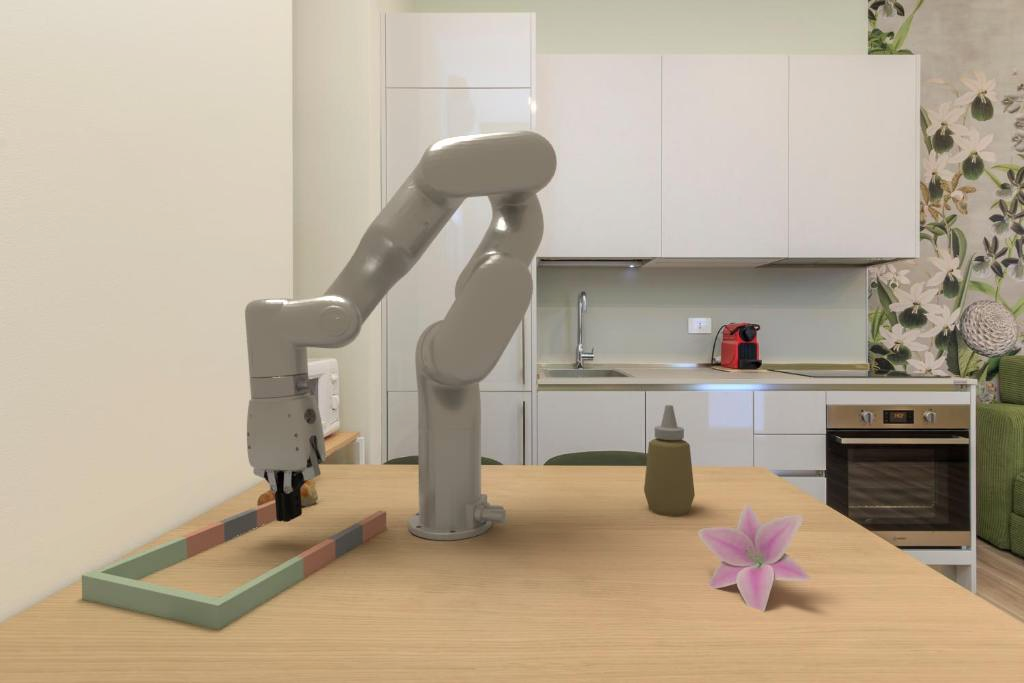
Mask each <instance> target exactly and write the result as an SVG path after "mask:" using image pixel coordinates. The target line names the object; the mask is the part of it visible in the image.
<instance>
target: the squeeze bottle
mask: <svg viewBox="0 0 1024 683" xmlns="http://www.w3.org/2000/svg"><path fill="white" fill-rule="evenodd" d="M662 416H663V417H662V419H661V422H660V423H661V424H660V425H656V426H654V438H653V439H651V440H650V441H649V442H648V446H647V449H648V450H647V459H646V466H645V467H646V468H645V477H644V485H643V486H644V487H643V492H644V496H645V499H646V502H647V505H648V507H649V508H648V509H649V511H651V512H652V513H656V514H658V515H663V516H675V517H676V516H683V515H686V514H689V512H690V510H691V507H692V505H693V501H694V499H695V496H696V495H695V484H694V476H693V475H694V474H693V464H692V463H693V462H692V456H691V454H692V453H691V445H690V444H689V442H687V441H686V440H684V439H685V429H684V427H681V426H678V423H677V418H676V415H675V410H674V406H673V405H670V404H668V405H667V404H666V405H665V407H664V410H663V415H662Z"/></svg>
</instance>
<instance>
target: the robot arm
mask: <svg viewBox="0 0 1024 683" xmlns="http://www.w3.org/2000/svg"><path fill="white" fill-rule="evenodd" d="M557 165H558V164H557V155H556V151H555V149H554V147H553V145H552V144H551V143H550V141H549V140H548V139H547V138H546V137H544V136H543V135H542V134H539V133H537V132H535V131H530V130H529V131H528V130H513V131H511V130H510V131H501V132H491V133H482V134H481V133H480V134H467V135H462V136H461V135H460V136H453V137H446V138H442V139H439V140H437V141H435V142H433V143H432V144H430V145H429V146H428V147H427V148H426V149H425V151H424V152H423V154H422V156H421V158H420V160H419V162H418V164H417V165H416V166H415V167H414V169H413V170H412V171H411V173H410V174H409V175H408V177H407V178H406V179H405V181H404V182H403V183H402V184H401V185H400V187H399V188H398V189H397V191H396V192H395V193H394V195H392V197H391V199H389V201H388V202H387V203H386V205H385V206H384V207H383V208H382V209H381V211H380V212H379V213H378V214H377V216H376V217H375V218H374V219H373V221H372V222H371V223H370V224H369V226H368V227H367V229H366V231H365V232H364V233H363V235H362V237H361V239H360V241H359V244H358V246H357V247H356V250H355V251H354V253H353V254H352V256H351V257H350V259H349V261H348V262H347V263H346V265H345V266H344V267H343V269H341V271H340V273H339V274H338V275H337V277H336V278H335V279H334V280H333V281H332V283H331V284H330V286H329V287H328V288H327V289H326V291H325V292H324V293H323V295H318V296H313V297H305V298H300V299H299V298H298V299H294V298H263V299H262V298H261V299H256V300H252V301H249V303H247V305H246V306H245V309H244V318H245V319H244V321H245V322H244V323H245V331H246V333H245V334H246V346H247V357H248V358H247V359H248V360H247V361H248V373H249V375H248V376H249V387H250V390H249V391H250V399H249V401H248V408H247V418H246V449H247V450H246V451H247V456H248V457H247V458H248V463H249V465H250V466H251V467H252V468H253V470H252V471H253V472H252V473H253V474H254V475H255V476H258V477H259V478H263V479H264V480H265V481H266V482H267V483H268V485H269V490H271V491H272V492H273V493H275V504H276V518H277V519H276V521H277V522H285V523H289V522H290V521H293V520H294V519H297V518H298V517H300V516H301V515H303V506H302V505H301V490H300V488H302V487H304V483H305V482H306V481H307V480H309V479H311V480H312V479H315V478H318V477H320V476H321V468H320V466H319V465H321V464H323V463H324V462H325V461H326V443H325V437H324V436H325V435H324V429H323V422H322V418H321V414H320V409H319V405H318V402H317V399H316V396H315V395H310V394H311V393H310V390H312V389H313V387H314V380H313V379H311V378H309V377H310V376H309V365H308V352H307V351H308V350H307V348H316V349H317V348H320V349H341V348H344V347H347V346H348V345H351V344H352V343H353V342H355V340H356V339H357V337H358V336H359V335H360V332H361V329H362V326H363V325H364V324H365V322H366V321H367V320H368V319H369V317H370V316H371V314H373V312H374V310H375V309H376V308H377V306H378V305H379V303H381V301H382V300H384V298H385V296H386V295H387V294H388V293H389V292H390V290H391V289H393V287H394V286H395V285H396V284H397V283H398V282H399V281H401V279H403V278H404V277H405V276H406V275H407V274H409V272H410V271H411V270H412V269H413V268H414V267H415V265H416V264H417V263H418V262H419V261H420V259H421V258H422V256H423V255H424V254H425V253H426V251H427V250H428V249H429V247H430V246H431V244H433V242H434V241H435V239H436V238H437V237H438V235H439V234H440V233H441V232H442V230H443V228H445V226H446V225H447V223H448V222H449V221H450V220H451V218H452V217H453V216H454V215H455V213H456V211H458V209H459V208H460V206H461V205H462V204H463V203H464V201H465V200H467V199H468V198H477V197H487V198H488V201H489V202H490V206H491V211H492V212H491V213H492V216H491V221H490V223H489V226H488V228H487V230H486V232H485V233H484V235H483V237H482V239H481V241H480V243H479V244H478V246H477V247H476V248H475V251H474V252H473V254H472V256H471V257H470V259H469V261H468V262H467V264H466V265H465V266H464V268H463V270H462V271H461V273H460V274H459V276H458V278H457V280H456V282H455V286H454V297H455V300H454V301H453V302H452V305H451V306H450V308H449V309H448V311H447V313H446V315H445V316H444V318H443V319H440V320H437V321H435V322H432V323H431V324H430V325H428V326H427V327H425V329H424V330H423V331H422V333H421V334H420V336H419V338H418V340H417V343H416V346H415V364H414V365H415V374H416V385H417V386H416V387H417V407H418V410H417V411H418V412H417V413H418V415H417V416H418V421H417V422H418V425H417V427H418V428H417V430H418V431H417V437H418V440H417V441H418V444H417V445H418V448H417V450H418V453H417V454H418V511H417V512H416V513H414V514H412V515H411V517H409V519H408V530H409V531H410V532H411V533H412V534H413V535H415V536H416V537H418V538H422V539H427V540H434V541H457V540H465V539H471V538H474V537H476V536H479V535H482V534H484V533H485V532H488V530H490V528H491V526H492V524H493V523H495V524H501V525H502V524H505V522H506V518H507V514H506V513H507V512H506V510H505V508H504V505H498V504H495V505H494V504H490V503H489V502H488V494H486V493H482V443H481V442H482V439H481V438H482V406H481V404H482V403H481V402H482V401H481V400H482V399H481V392H480V390H481V389H480V384H479V383H481V382H482V381H483V380H485V379H486V378H487V377H488V376H490V374H491V372H492V371H493V370H494V369H495V367H496V366H497V364H498V362H499V361H500V359H501V358H502V356H503V354H504V353H505V350H507V347H508V345H509V343H510V342H511V339H512V338H513V336H514V334H515V332H516V331H517V329H518V327H519V326H520V324H521V323H522V321H523V318H524V317H525V315H526V313H527V312H528V309H529V307H530V304H531V300H532V298H533V292H534V281H533V278H532V274H531V271H530V269H529V268H530V265H531V264H532V263H533V262H532V261H533V259H534V257H535V256H536V254H537V251H538V250H539V247H540V245H541V243H542V240H543V236H544V230H545V224H544V223H545V222H544V214H543V211H542V206H541V202H540V199H539V197H538V195H537V193H538V192H540V191H542V190H544V188H546V187H547V186H548V184H550V182H551V181H552V179H553V178H554V176H555V173H556V171H557ZM294 474H295V476H294Z"/></svg>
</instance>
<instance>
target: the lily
mask: <svg viewBox="0 0 1024 683" xmlns="http://www.w3.org/2000/svg"><path fill="white" fill-rule="evenodd" d="M803 520H804V518H803V515H801V514H790V515H785V516H781V517H777V518H774V519H771V520H768V521H766V522H764V523H763V524H762V522H761V519H760V518H759V517H758V515H757V513H756V512H755V511H754V509H753V507H751V505H749V504H748V503H746V504H745V505H744V507H743V508H742V510H741V513H740V515H739V518H738V522H737V525H736V528H733V527H729V526H712V527H704V528H701V529H699V530H698V531H697V535H698V536H699V539H701V541H702V542H703V544H705V546H706V547H707V548H708V549H709V550H710V551H711V552H712V553H713V554H714V555H715V557H717V558H719V559H720V561H721V562H720V563H719V565H718V566H717V567H716V568H715V571H714V572H713V573H712V575H711V578H710V580H709V582H708V583H707V584H708V585H707V586H708V587H710V588H713V589H720V588H725V587H728V586H733V585H735V584H736V585H737V586H736V587H737V588H738V590H739V593H740V594H741V597H742V599H743V600H744V602H745V604H746V606H748V607H751V608H754V609H757V610H759V611H761V612H765V610H766V607H767V603H768V600H769V597H770V595H771V594H770V593H771V590H772V587H773V585H774V580H777V581H785V582H808V581H810V580H811V577H810V575H809V574H808V573H807V571H806V570H805V569H804V568H803V567H802V566H801V565H800V564H799V563H798V562H797V561H795V560H794V559H793V557H791V556H789V555H788V554H786V552H787V551H788V548H789V546H790V544H791V542H792V541H793V539H794V538H795V535H797V532H798V530H799V528H800V527H801V525H802V522H803Z"/></svg>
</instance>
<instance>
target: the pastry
mask: <svg viewBox="0 0 1024 683" xmlns="http://www.w3.org/2000/svg"><path fill="white" fill-rule="evenodd" d="M300 490H301V505H302V507H305V506H306V507H310V506H312V504H313V505H315V504H316V502H317V501H318V499H319V496H318V492H317V489H316V486H315V483H314V481H313V480H312V479H311V480H310V479H309V480H307V481H306V482H305V483H304V487H302V488H300ZM273 500H275V493H273V492H272V491H271V490H270V489H269V490H267V491H266V492H264V493H262V494H261V495H260V496H258V500H257V503H256V505H257V506H260V505H263V504H265V503H268V502H270V501H273ZM309 505H310V506H309Z"/></svg>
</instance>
